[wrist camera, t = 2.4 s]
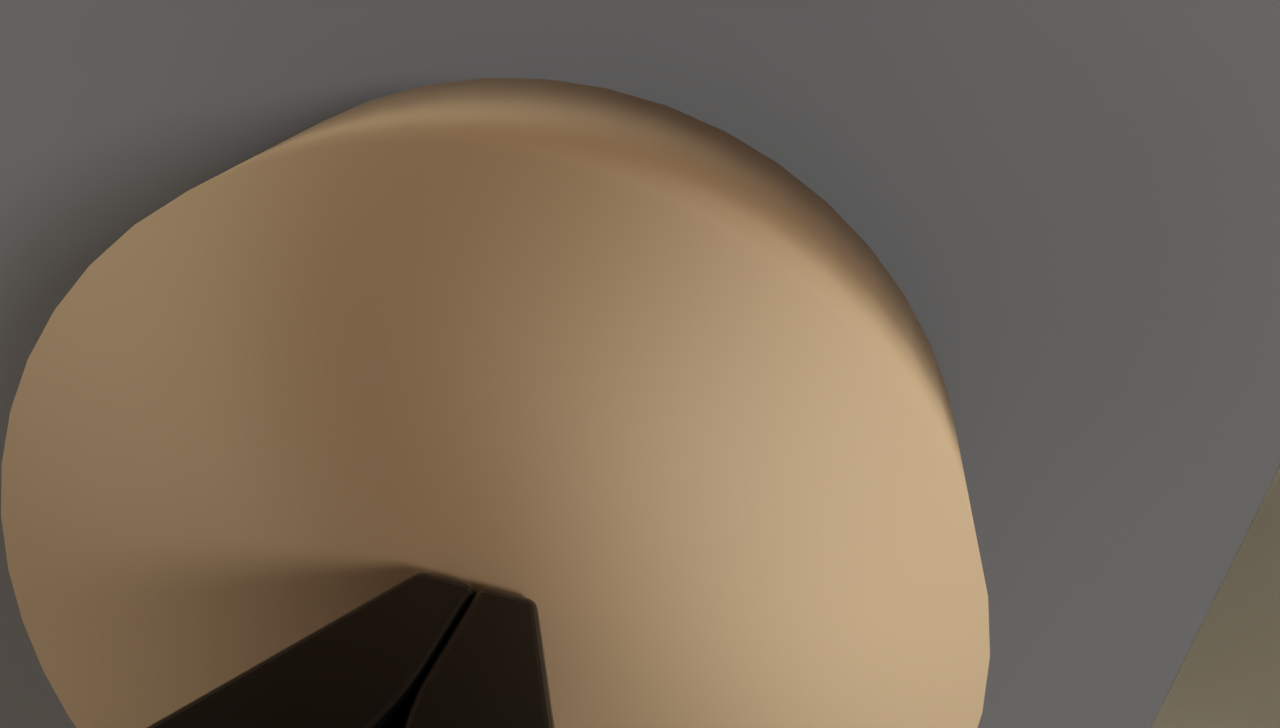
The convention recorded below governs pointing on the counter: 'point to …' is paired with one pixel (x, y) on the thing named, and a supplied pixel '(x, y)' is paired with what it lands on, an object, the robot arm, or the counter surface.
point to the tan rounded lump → (502, 424)
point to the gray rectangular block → (868, 202)
